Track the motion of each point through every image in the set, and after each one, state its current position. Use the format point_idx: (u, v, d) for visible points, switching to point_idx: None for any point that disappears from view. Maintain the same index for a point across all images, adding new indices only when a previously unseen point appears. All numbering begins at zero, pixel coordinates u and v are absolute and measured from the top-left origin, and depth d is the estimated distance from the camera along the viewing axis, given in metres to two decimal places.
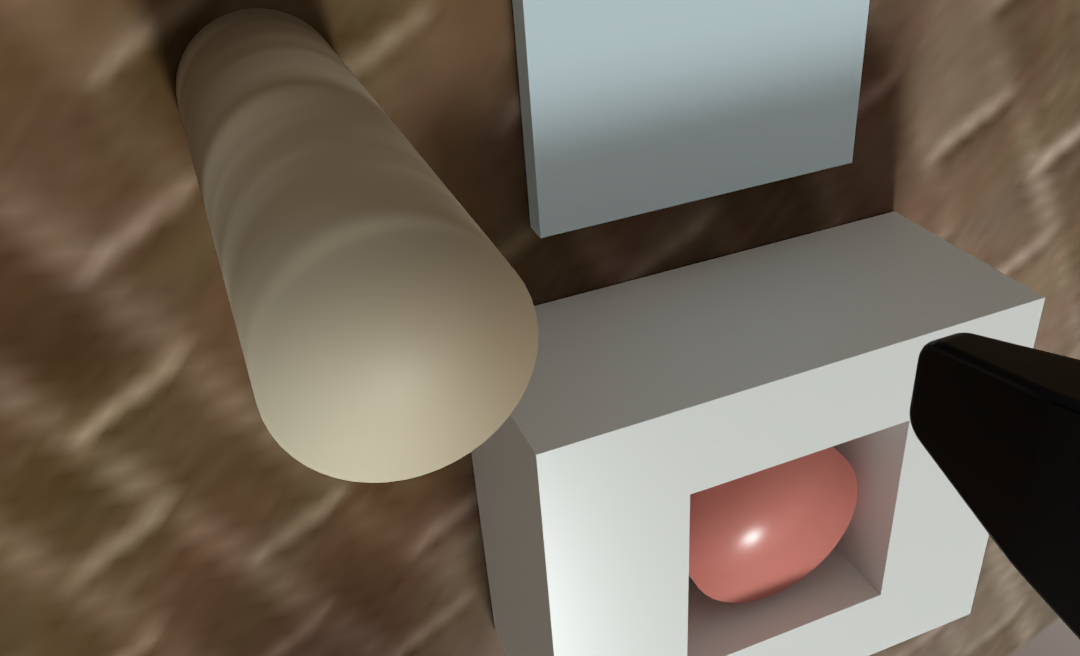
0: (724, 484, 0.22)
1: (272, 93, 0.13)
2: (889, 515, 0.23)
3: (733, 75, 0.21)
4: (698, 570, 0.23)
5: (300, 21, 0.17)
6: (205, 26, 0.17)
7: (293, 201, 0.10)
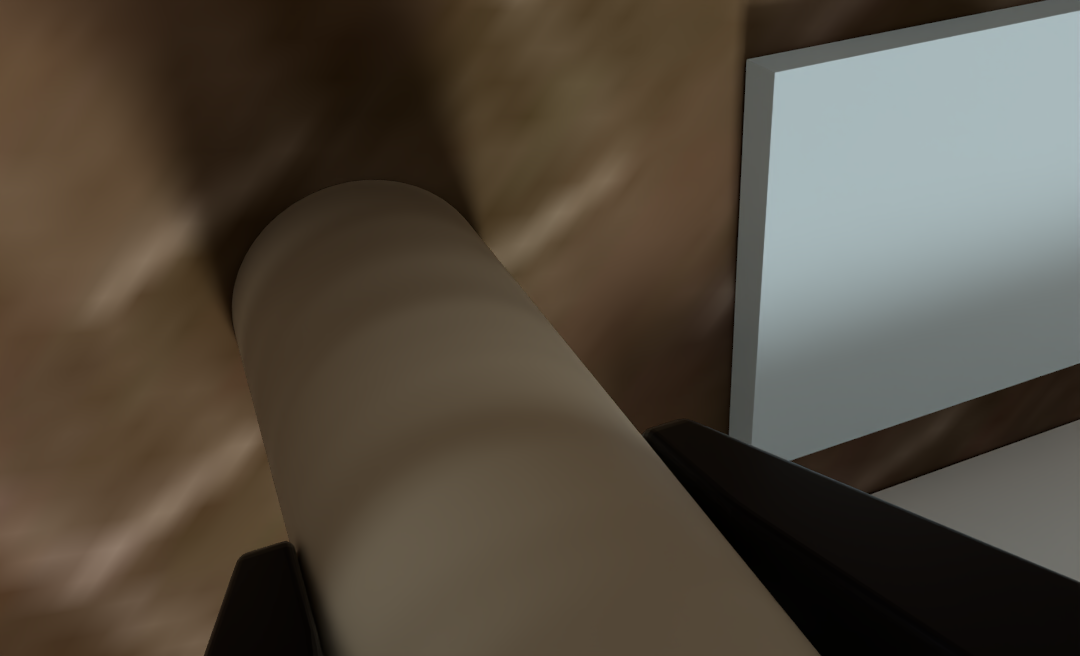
0: None
1: (466, 461, 0.07)
2: None
3: (1033, 238, 0.14)
4: None
5: (435, 200, 0.11)
6: (282, 213, 0.10)
7: None
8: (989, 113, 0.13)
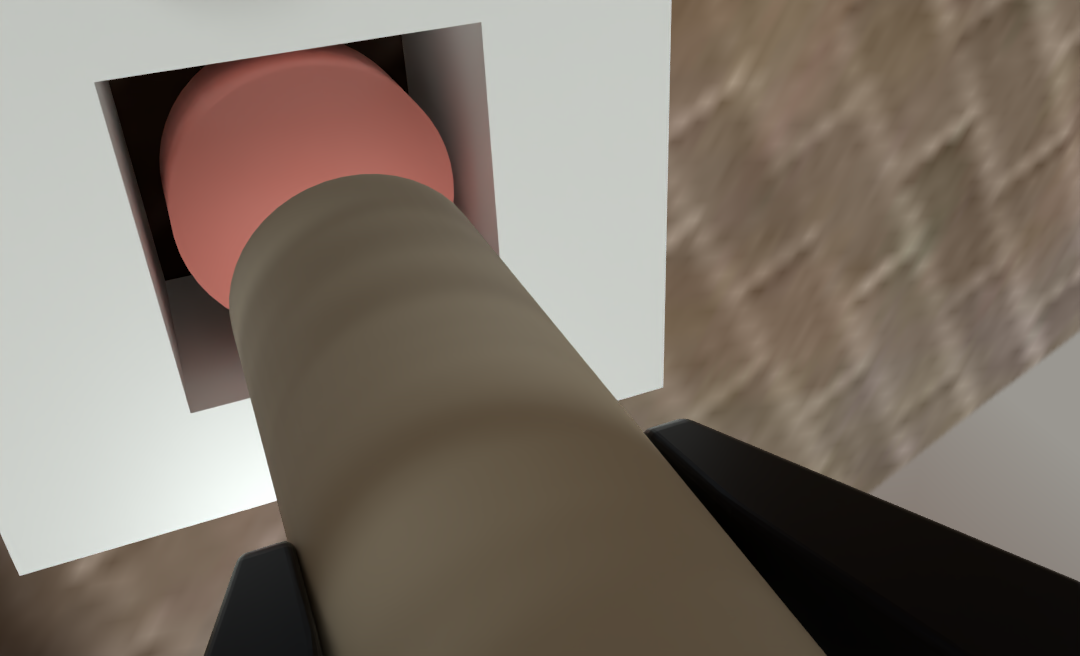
0: (205, 112, 0.15)
1: (465, 455, 0.06)
2: (492, 198, 0.17)
3: None
4: (198, 261, 0.16)
5: (433, 195, 0.11)
6: (280, 207, 0.10)
7: None
8: None
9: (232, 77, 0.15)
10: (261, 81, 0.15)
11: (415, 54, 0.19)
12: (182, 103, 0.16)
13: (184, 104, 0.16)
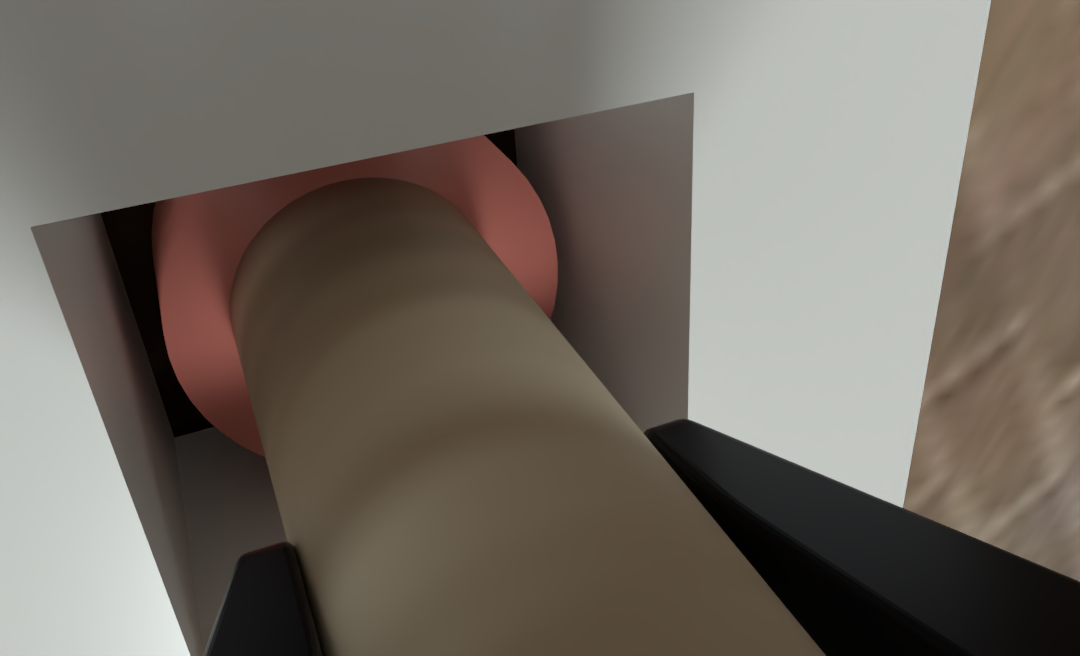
0: None
1: (468, 462, 0.06)
2: (681, 359, 0.10)
3: None
4: (204, 389, 0.11)
5: (434, 198, 0.11)
6: (281, 211, 0.10)
7: None
8: None
9: None
10: None
11: None
12: None
13: None
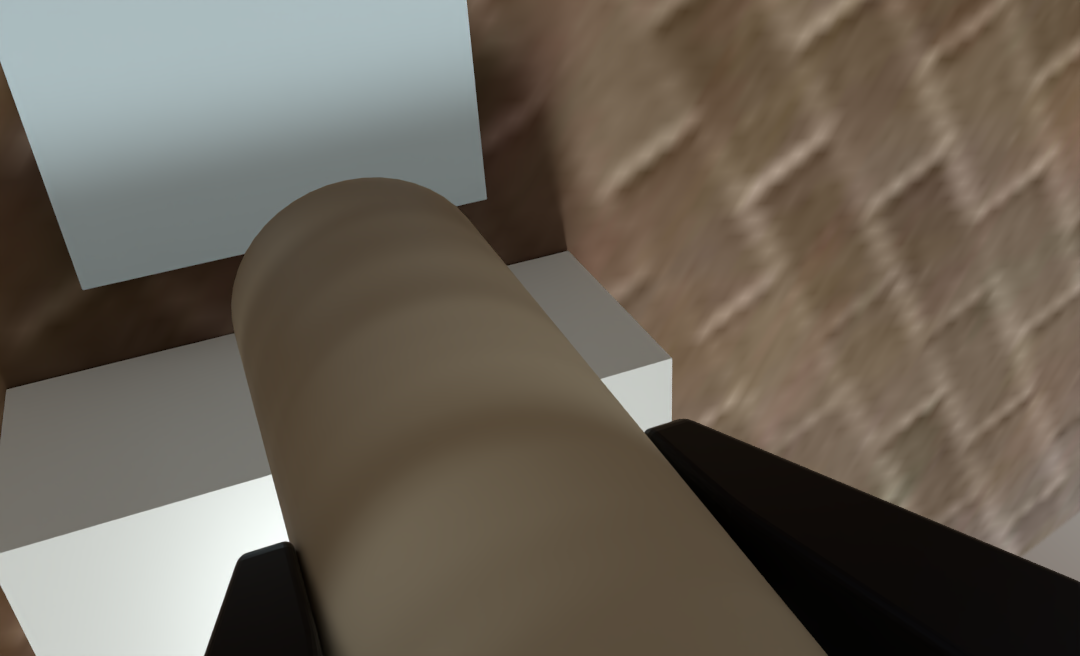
0: None
1: (469, 462, 0.06)
2: None
3: (302, 103, 0.18)
4: None
5: (436, 198, 0.11)
6: (282, 211, 0.10)
7: None
8: None
9: None
10: None
11: None
12: None
13: None
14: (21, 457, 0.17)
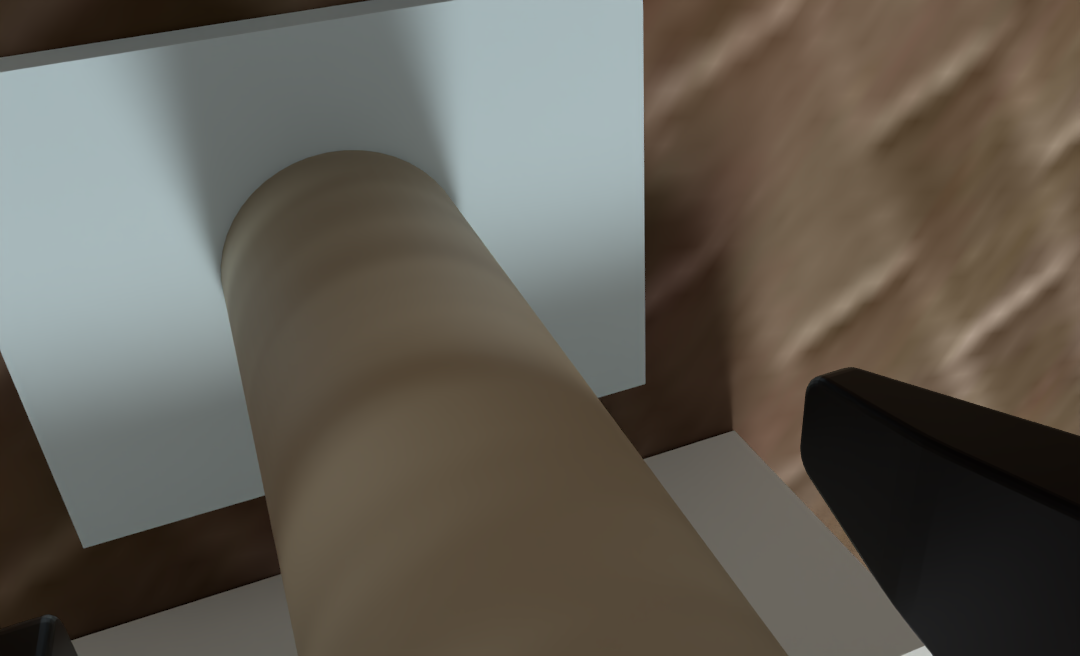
0: None
1: (414, 398, 0.07)
2: None
3: None
4: None
5: (413, 171, 0.11)
6: (268, 180, 0.11)
7: None
8: (268, 136, 0.11)
9: None
10: None
11: None
12: None
13: None
14: None
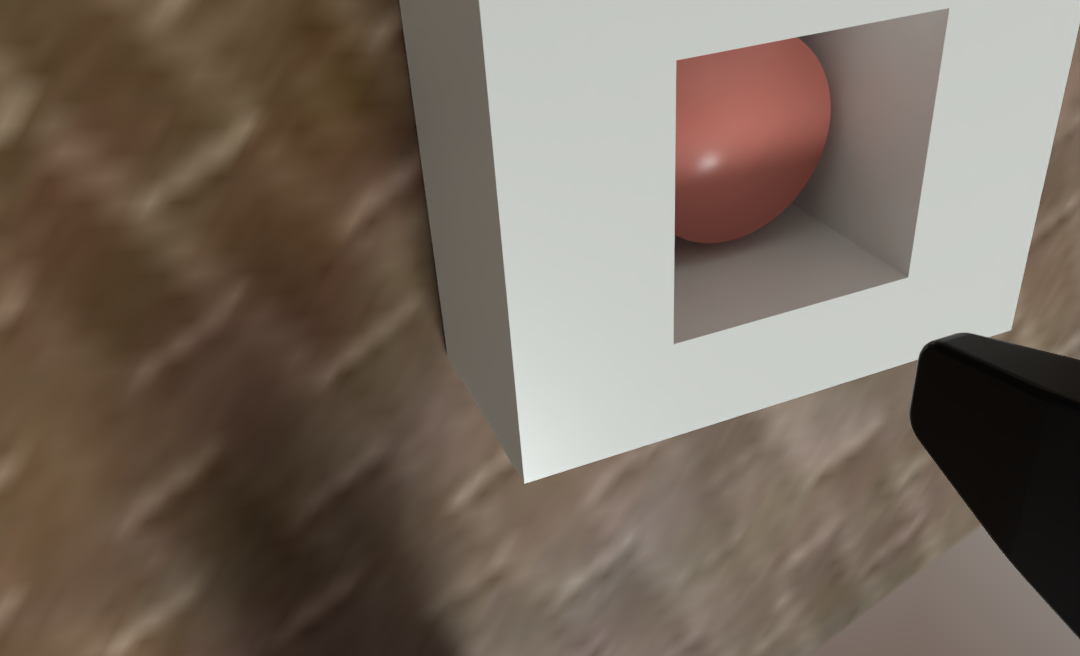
0: None
1: None
2: (920, 160, 0.19)
3: None
4: None
5: None
6: None
7: None
8: None
9: None
10: None
11: (807, 39, 0.22)
12: None
13: None
14: None
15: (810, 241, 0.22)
